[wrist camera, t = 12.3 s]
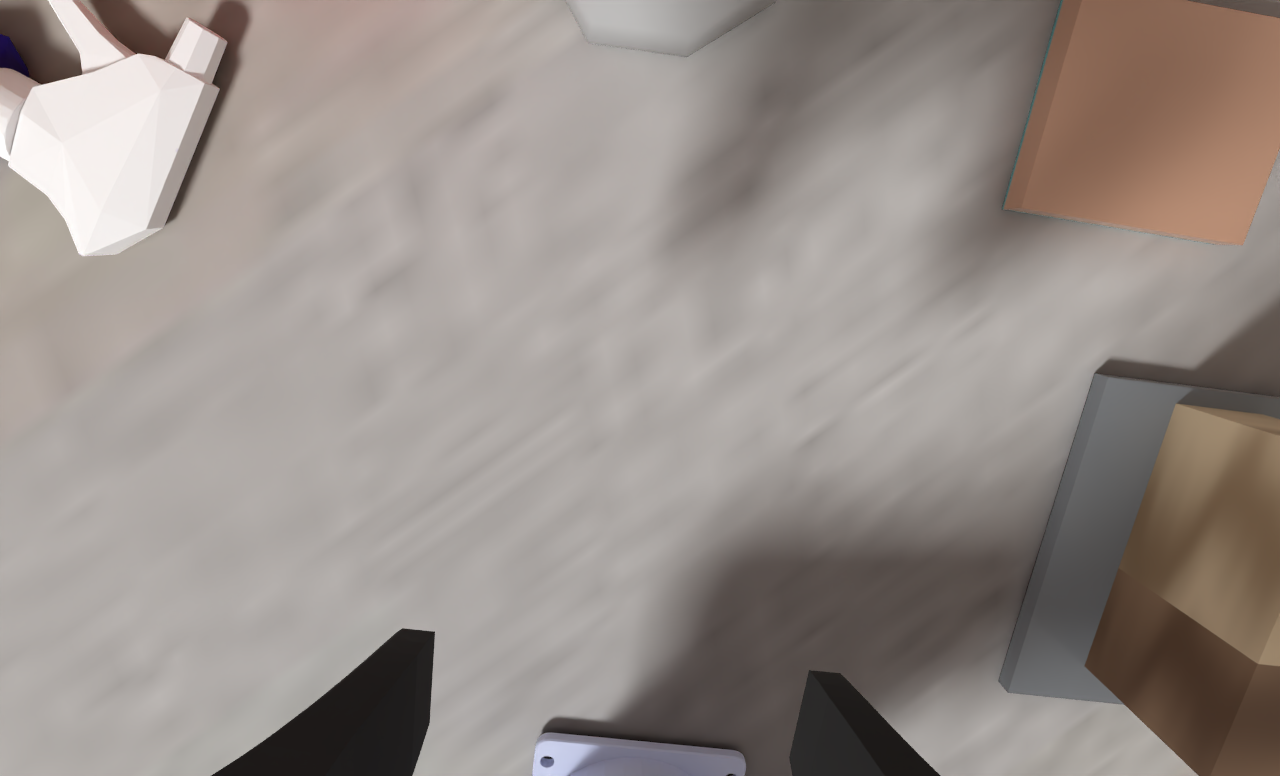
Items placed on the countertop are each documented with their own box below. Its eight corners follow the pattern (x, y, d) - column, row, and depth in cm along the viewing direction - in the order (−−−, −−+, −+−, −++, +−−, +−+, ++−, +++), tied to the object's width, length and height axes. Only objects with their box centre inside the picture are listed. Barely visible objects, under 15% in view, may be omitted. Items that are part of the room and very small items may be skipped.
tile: (1242, 245, 19) (1325, 27, 17) (1021, 207, 19) (1087, -19, 17) (1198, 243, 20) (1272, 42, 19) (992, 209, 20) (1051, 0, 19)
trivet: (1199, 702, 24) (1214, 713, 23) (998, 681, 24) (1007, 692, 23) (1322, 402, 21) (1341, 407, 21) (1094, 373, 21) (1108, 377, 20)
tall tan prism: (1163, 674, 23) (1305, 793, 18) (1084, 666, 23) (1207, 783, 18) (1262, 414, 21) (1458, 470, 16) (1175, 403, 20) (1345, 457, 16)
